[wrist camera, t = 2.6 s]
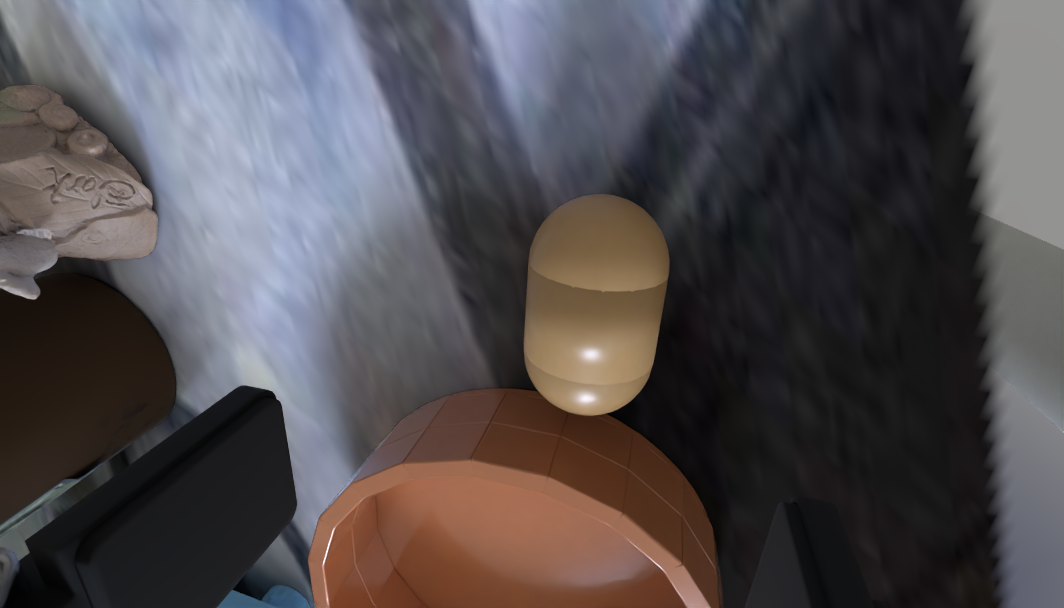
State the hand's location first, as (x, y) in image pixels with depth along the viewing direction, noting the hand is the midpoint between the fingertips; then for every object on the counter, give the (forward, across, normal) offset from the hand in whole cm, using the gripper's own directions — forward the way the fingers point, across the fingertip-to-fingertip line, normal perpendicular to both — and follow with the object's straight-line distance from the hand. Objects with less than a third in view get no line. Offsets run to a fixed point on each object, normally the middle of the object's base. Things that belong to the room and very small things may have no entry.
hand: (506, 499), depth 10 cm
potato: (+12, 0, 0) cm, 12 cm away
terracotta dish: (+12, +2, +14) cm, 18 cm away
